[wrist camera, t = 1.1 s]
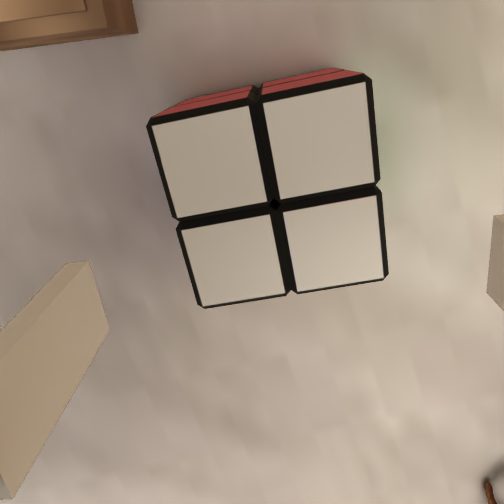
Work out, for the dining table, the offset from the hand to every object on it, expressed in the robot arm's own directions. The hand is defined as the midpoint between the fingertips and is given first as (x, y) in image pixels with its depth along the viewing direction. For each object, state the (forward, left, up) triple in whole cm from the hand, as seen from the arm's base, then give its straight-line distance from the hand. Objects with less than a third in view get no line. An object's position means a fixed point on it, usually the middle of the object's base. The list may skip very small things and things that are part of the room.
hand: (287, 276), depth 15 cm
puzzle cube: (0, 0, -17) cm, 17 cm away
